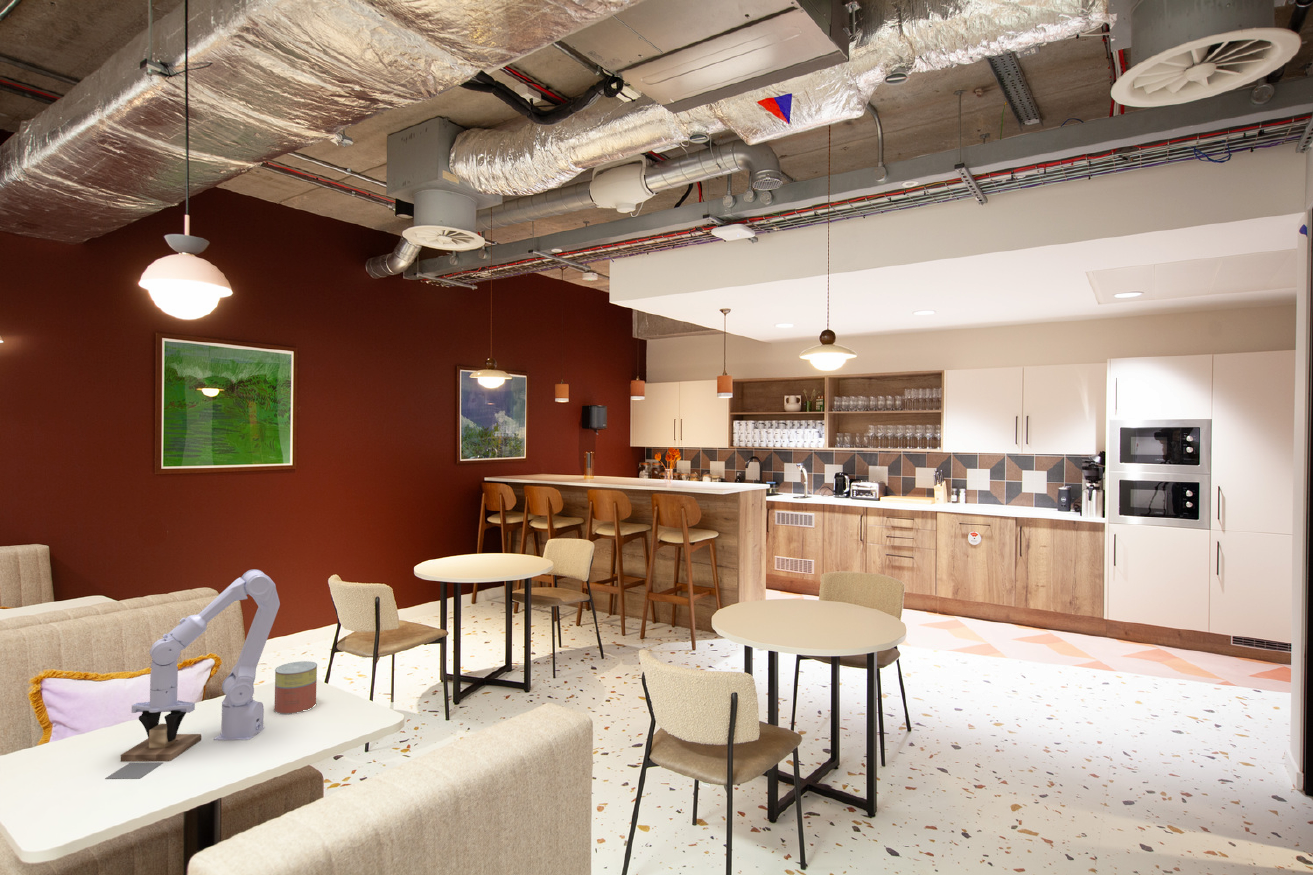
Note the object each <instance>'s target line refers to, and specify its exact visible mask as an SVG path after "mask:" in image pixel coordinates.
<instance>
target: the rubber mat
mask: <svg viewBox="0 0 1313 875" xmlns="http://www.w3.org/2000/svg"><path fill="white" fill-rule="evenodd" d="M164 762H165V761H148V762H129V763H127V764H125V765H124V766H122V767H121V768H119V769H118V770H116V771H114V772H113V773H111V774H110V775H108V776H107V777H105V778H104V780H141V779H142V778H144V777H145V776H147V775H148V774H149V773H151V772H153V771H154V770H156V769H157V768H158V767H159V766H160V767H161V765H162V764H165V763H164Z"/></svg>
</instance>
